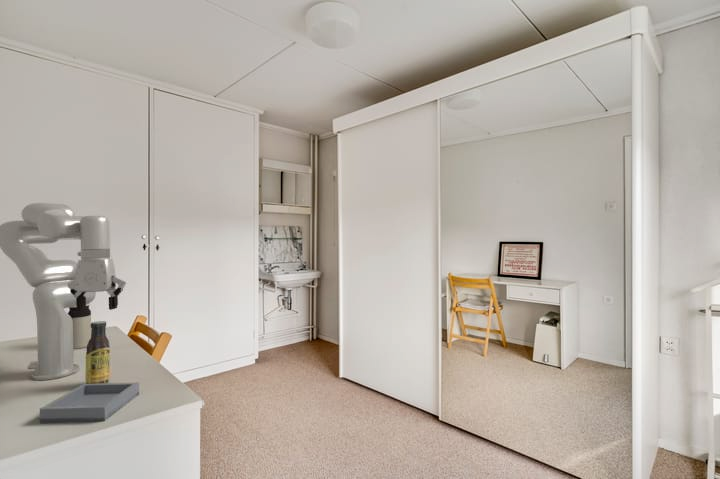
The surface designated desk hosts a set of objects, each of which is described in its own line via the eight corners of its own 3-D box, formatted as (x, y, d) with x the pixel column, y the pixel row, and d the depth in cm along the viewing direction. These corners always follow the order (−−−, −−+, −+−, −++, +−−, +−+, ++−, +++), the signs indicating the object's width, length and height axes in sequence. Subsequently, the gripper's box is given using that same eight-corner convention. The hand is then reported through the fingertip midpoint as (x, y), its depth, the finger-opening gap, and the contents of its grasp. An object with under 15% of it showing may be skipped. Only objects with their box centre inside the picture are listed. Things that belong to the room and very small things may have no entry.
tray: (40, 422, 95) (39, 409, 95) (83, 395, 111) (83, 383, 111) (104, 420, 96) (104, 407, 96) (139, 394, 112) (139, 382, 112)
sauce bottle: (91, 390, 115) (89, 325, 114) (81, 386, 118) (80, 323, 118) (114, 383, 120) (113, 321, 120) (104, 379, 123) (103, 319, 123)
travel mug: (82, 349, 156) (81, 306, 156) (63, 349, 157) (62, 306, 156) (96, 343, 164) (95, 302, 164) (78, 343, 165) (77, 302, 164)
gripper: (58, 256, 114) (60, 312, 114) (116, 255, 115) (118, 310, 115) (76, 255, 122) (77, 307, 122) (130, 253, 122) (132, 306, 123)
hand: (97, 309), depth 118 cm, fingers open, 9 cm apart
